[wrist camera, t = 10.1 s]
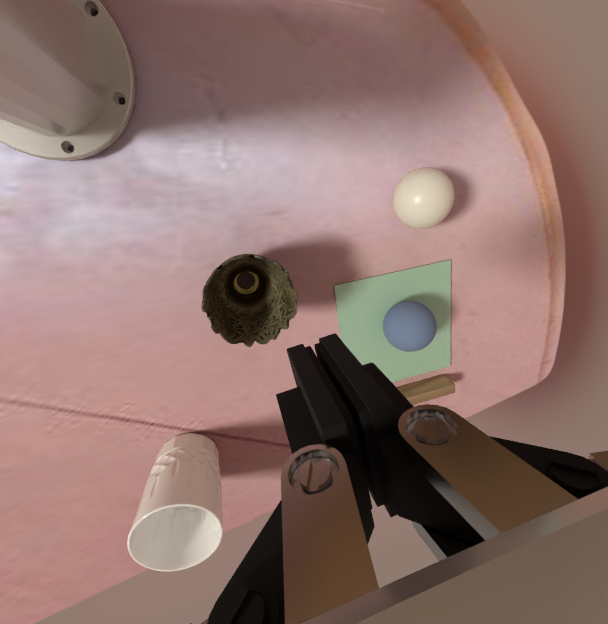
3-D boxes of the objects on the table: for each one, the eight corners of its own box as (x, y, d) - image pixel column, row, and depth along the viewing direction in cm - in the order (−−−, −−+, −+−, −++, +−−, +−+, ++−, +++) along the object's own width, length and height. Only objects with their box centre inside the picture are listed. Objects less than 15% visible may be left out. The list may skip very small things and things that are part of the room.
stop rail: (356, 398, 40) (364, 410, 38) (442, 374, 42) (455, 384, 40) (357, 406, 41) (365, 418, 38) (442, 382, 42) (455, 392, 40)
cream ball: (442, 233, 28) (393, 243, 33) (473, 207, 31) (424, 219, 35) (420, 171, 26) (372, 191, 31) (455, 148, 29) (406, 170, 34)
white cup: (232, 433, 38) (234, 508, 29) (212, 486, 40) (208, 572, 30) (162, 422, 35) (139, 500, 26) (144, 479, 37) (117, 570, 28)
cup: (291, 300, 34) (309, 327, 27) (225, 325, 33) (225, 360, 26) (267, 232, 31) (280, 241, 24) (195, 258, 31) (185, 276, 23)
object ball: (402, 362, 32) (380, 353, 38) (452, 348, 33) (423, 341, 39) (391, 307, 32) (370, 306, 37) (441, 294, 33) (414, 295, 38)
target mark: (333, 285, 35) (334, 285, 35) (449, 259, 37) (450, 259, 37) (348, 393, 40) (348, 394, 39) (449, 365, 42) (450, 365, 42)
